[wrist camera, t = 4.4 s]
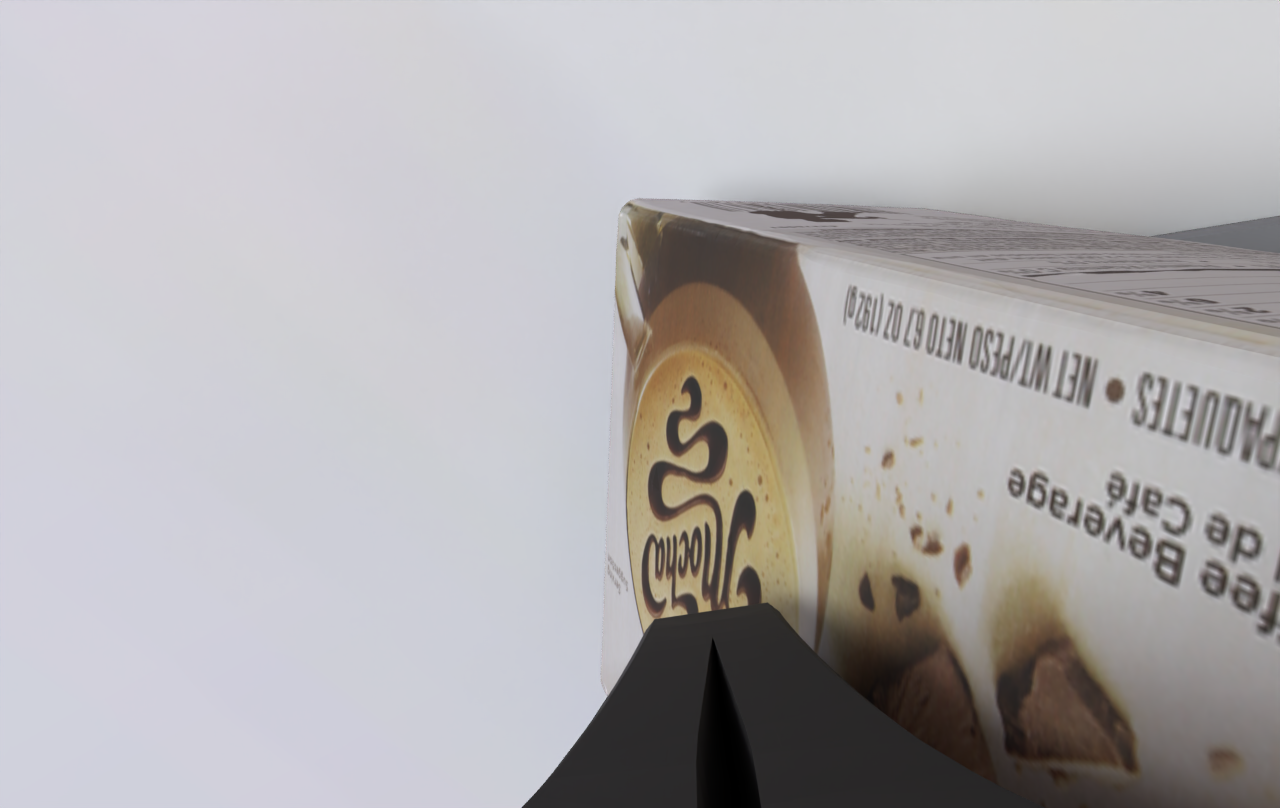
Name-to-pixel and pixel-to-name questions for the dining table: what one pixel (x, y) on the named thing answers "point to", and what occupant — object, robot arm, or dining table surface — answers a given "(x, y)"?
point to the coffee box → (966, 480)
